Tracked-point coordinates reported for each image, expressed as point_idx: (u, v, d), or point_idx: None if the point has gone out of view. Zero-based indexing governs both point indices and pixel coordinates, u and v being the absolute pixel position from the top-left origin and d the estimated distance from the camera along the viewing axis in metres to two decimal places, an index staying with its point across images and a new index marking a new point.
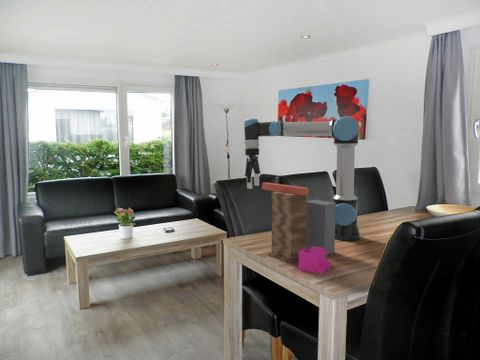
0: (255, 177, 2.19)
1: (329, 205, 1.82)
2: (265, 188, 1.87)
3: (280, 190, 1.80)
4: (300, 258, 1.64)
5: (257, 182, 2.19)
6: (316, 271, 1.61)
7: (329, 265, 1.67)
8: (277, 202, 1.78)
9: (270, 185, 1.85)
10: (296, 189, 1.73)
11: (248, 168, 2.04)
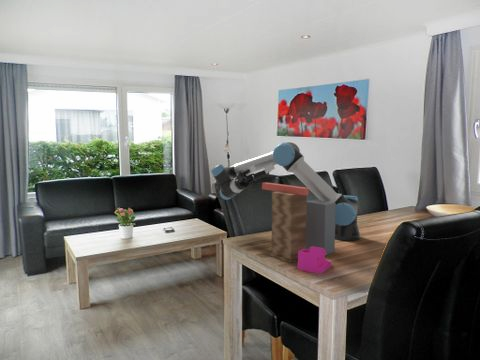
0: (268, 170, 2.05)
1: (329, 205, 1.82)
2: (265, 188, 1.87)
3: (280, 190, 1.80)
4: (299, 258, 1.64)
5: (270, 166, 2.03)
6: (315, 271, 1.61)
7: (329, 265, 1.67)
8: (277, 202, 1.78)
9: (270, 185, 1.85)
10: (296, 189, 1.73)
11: (238, 176, 2.00)
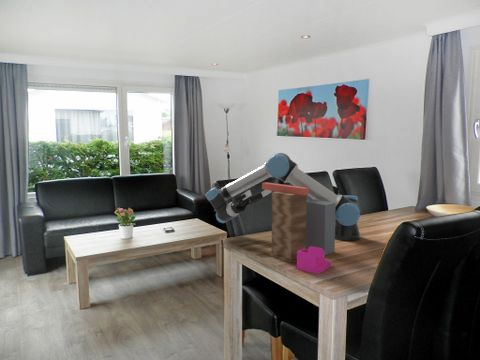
0: (264, 194, 1.99)
1: (329, 205, 1.82)
2: (265, 188, 1.87)
3: (280, 190, 1.80)
4: (298, 257, 1.65)
5: (267, 190, 1.97)
6: (313, 271, 1.61)
7: (328, 265, 1.67)
8: (277, 202, 1.78)
9: (270, 185, 1.85)
10: (296, 189, 1.73)
11: (234, 201, 1.94)
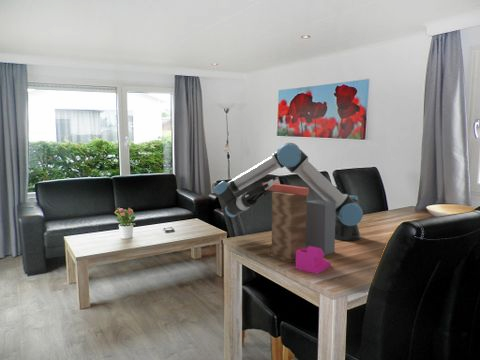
0: None
1: (329, 205, 1.82)
2: None
3: (280, 190, 1.80)
4: (297, 257, 1.65)
5: (275, 181, 1.86)
6: (312, 271, 1.61)
7: (328, 265, 1.66)
8: (277, 202, 1.78)
9: None
10: (296, 189, 1.73)
11: (253, 191, 1.88)
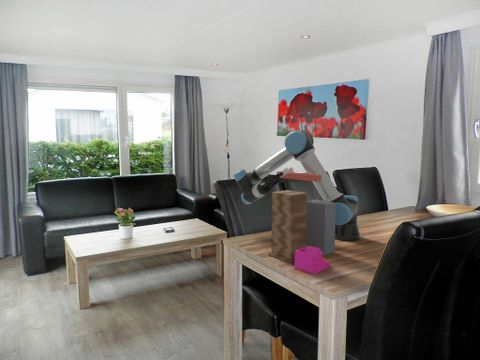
0: None
1: (329, 205, 1.82)
2: None
3: (294, 177, 1.95)
4: (296, 257, 1.65)
5: (289, 170, 2.01)
6: (310, 271, 1.61)
7: (327, 265, 1.66)
8: (277, 202, 1.78)
9: None
10: (310, 176, 1.88)
11: (269, 179, 2.03)
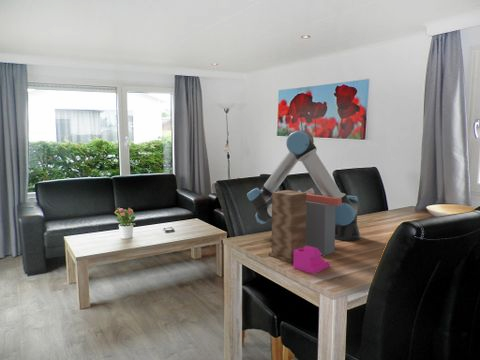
0: None
1: (329, 205, 1.82)
2: None
3: (312, 200, 1.88)
4: (294, 256, 1.66)
5: (309, 190, 1.96)
6: (308, 271, 1.61)
7: (326, 266, 1.66)
8: (277, 202, 1.78)
9: None
10: (329, 199, 1.81)
11: None
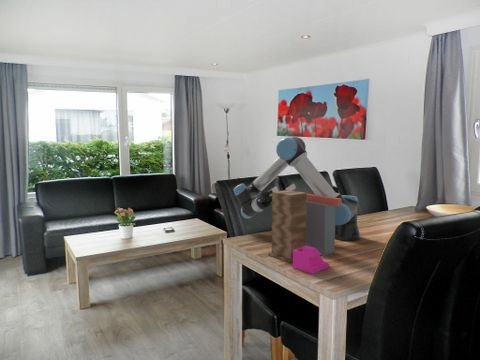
0: None
1: (329, 205, 1.82)
2: None
3: (312, 200, 1.88)
4: (294, 256, 1.66)
5: (291, 186, 2.08)
6: (307, 270, 1.61)
7: (325, 266, 1.66)
8: (277, 202, 1.78)
9: None
10: (329, 199, 1.81)
11: (261, 197, 2.04)
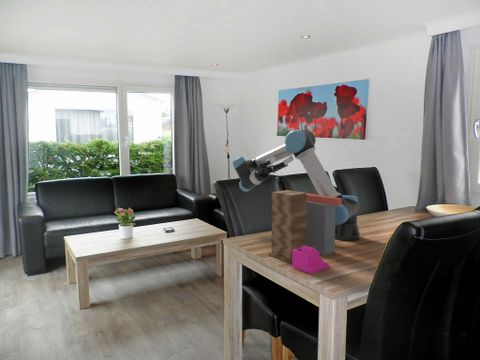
0: (286, 162, 2.12)
1: (329, 205, 1.82)
2: None
3: (312, 200, 1.88)
4: (293, 256, 1.67)
5: (289, 158, 2.11)
6: (306, 270, 1.62)
7: (325, 266, 1.66)
8: (277, 202, 1.78)
9: None
10: (329, 199, 1.81)
11: (259, 168, 2.07)
